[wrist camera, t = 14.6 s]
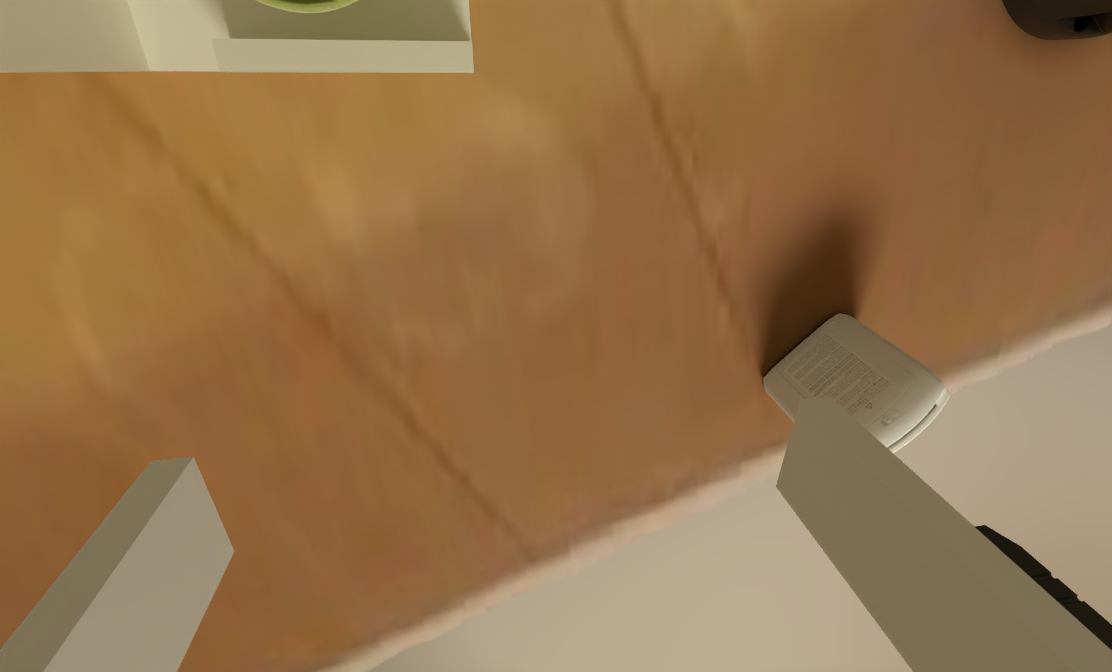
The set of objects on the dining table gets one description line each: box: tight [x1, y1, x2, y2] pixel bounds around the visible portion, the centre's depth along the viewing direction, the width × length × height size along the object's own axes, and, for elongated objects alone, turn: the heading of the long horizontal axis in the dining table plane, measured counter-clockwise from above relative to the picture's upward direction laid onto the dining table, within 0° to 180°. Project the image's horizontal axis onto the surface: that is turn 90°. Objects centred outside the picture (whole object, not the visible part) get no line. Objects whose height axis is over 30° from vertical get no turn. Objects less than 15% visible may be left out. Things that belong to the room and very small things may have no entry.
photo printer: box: [763, 313, 951, 453], centre depth 43 cm, size 10×4×12 cm, turn 138°
